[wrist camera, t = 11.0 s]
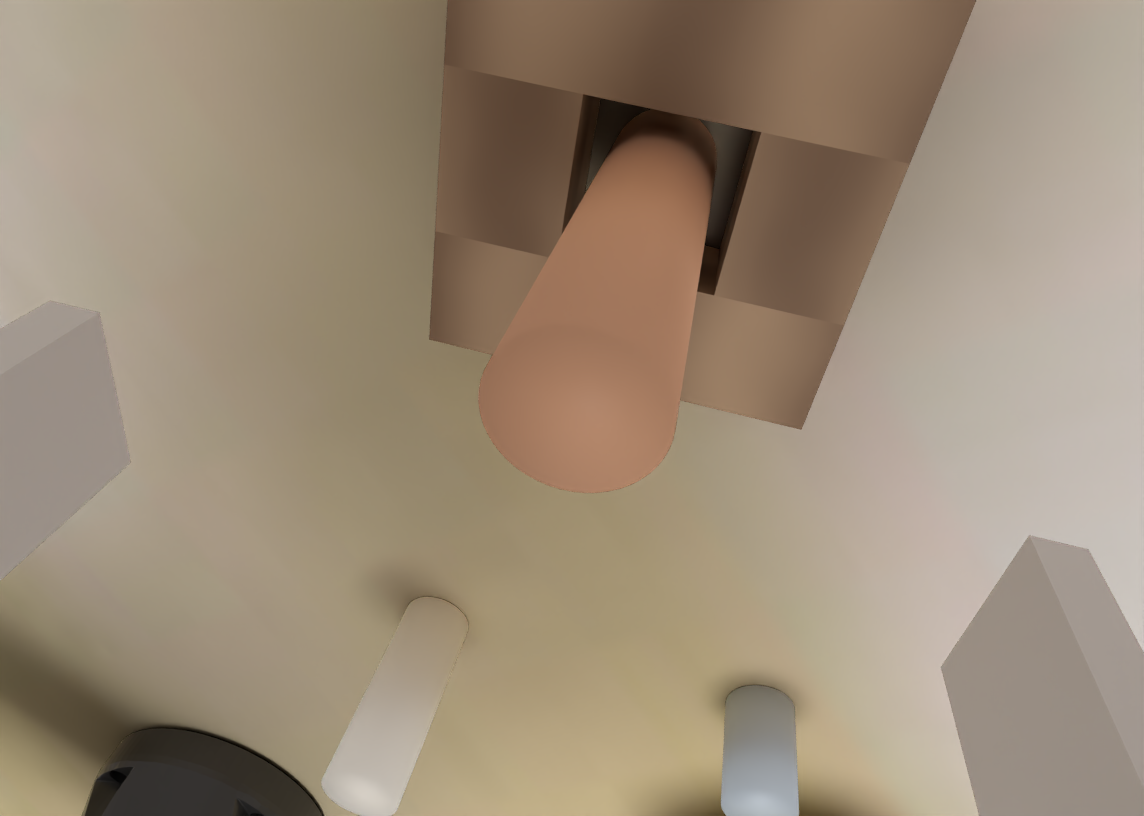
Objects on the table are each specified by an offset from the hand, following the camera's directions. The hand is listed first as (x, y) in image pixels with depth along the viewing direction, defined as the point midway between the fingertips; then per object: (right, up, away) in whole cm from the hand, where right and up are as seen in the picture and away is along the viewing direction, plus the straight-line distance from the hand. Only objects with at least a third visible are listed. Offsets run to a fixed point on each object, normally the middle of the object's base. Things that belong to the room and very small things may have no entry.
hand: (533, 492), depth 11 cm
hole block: (+3, +9, +13) cm, 16 cm away
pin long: (+3, +9, +13) cm, 16 cm away
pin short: (+9, -13, +26) cm, 30 cm away
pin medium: (-6, -9, +27) cm, 29 cm away
